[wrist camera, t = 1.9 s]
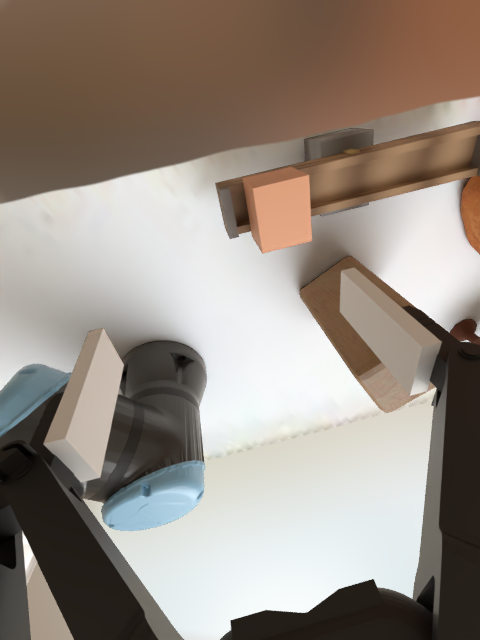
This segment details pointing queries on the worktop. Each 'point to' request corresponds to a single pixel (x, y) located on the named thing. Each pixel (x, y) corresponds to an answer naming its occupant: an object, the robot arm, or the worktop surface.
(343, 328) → the wooden block
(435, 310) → the worktop surface
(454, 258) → the worktop surface
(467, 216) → the bread
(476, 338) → the ice cream bowl
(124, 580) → the robot arm
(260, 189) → the block
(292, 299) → the worktop surface
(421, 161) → the beam
